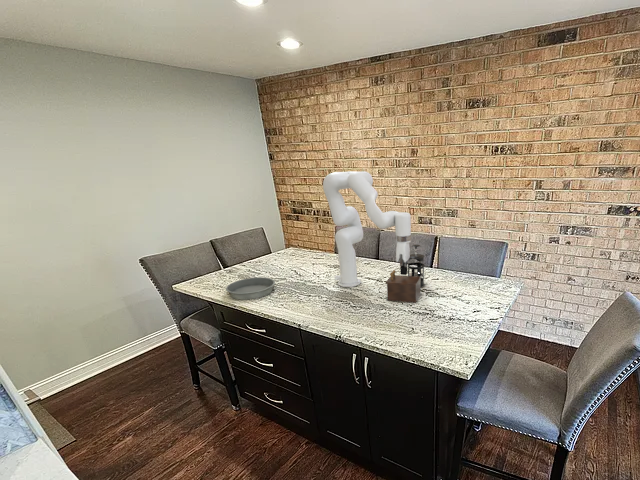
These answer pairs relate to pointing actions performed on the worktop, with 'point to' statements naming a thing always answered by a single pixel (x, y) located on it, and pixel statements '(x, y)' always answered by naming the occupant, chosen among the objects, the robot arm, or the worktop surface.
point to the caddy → (404, 292)
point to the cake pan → (250, 288)
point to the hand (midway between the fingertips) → (403, 274)
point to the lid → (402, 279)
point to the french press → (419, 267)
